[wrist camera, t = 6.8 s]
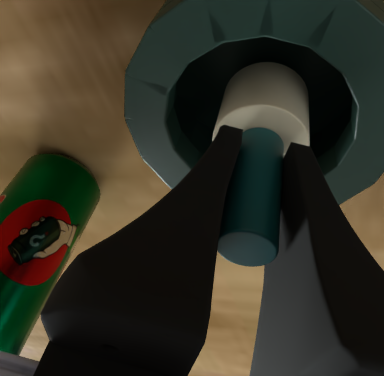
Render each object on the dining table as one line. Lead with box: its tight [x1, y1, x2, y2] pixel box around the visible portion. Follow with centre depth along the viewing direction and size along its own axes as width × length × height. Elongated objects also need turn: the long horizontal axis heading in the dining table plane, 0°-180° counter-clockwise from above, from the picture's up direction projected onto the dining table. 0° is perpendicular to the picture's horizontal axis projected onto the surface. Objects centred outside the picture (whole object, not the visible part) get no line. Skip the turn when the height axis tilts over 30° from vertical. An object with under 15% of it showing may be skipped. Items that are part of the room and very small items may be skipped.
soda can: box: [0, 153, 100, 356], centre depth 19 cm, size 5×5×12 cm
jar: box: [124, 0, 384, 205], centre depth 13 cm, size 9×9×5 cm
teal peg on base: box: [212, 62, 310, 266], centre depth 11 cm, size 3×3×7 cm
